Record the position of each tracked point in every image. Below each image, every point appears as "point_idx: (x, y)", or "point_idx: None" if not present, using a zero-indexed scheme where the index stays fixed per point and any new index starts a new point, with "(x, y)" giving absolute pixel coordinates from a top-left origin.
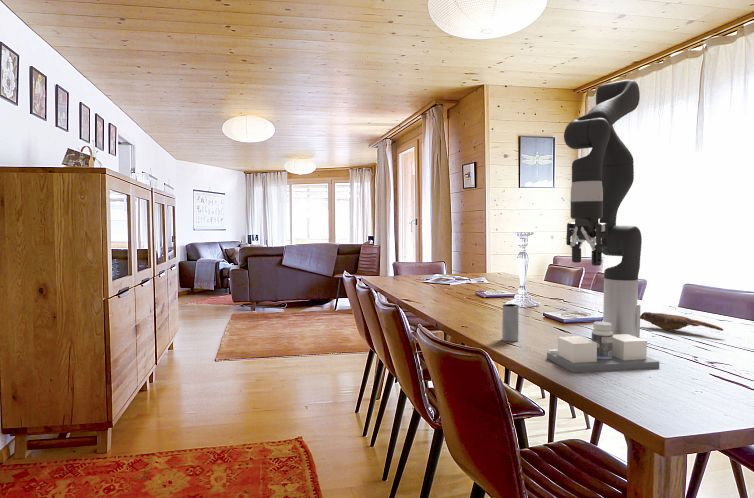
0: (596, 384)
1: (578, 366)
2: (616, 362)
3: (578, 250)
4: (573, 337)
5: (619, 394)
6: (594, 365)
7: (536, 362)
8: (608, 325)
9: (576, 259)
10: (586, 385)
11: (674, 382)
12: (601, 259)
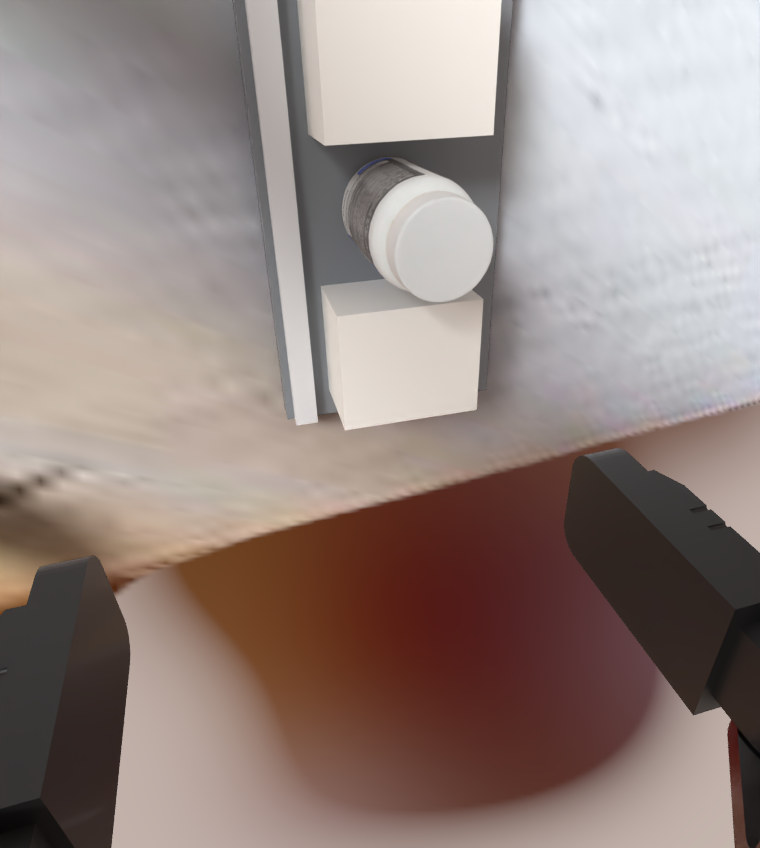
0: (597, 353)
1: (486, 368)
2: (480, 187)
3: (72, 784)
4: (365, 365)
5: (686, 327)
6: (491, 304)
7: (337, 458)
8: (492, 238)
9: (115, 646)
10: (595, 386)
11: (677, 36)
12: (701, 503)
